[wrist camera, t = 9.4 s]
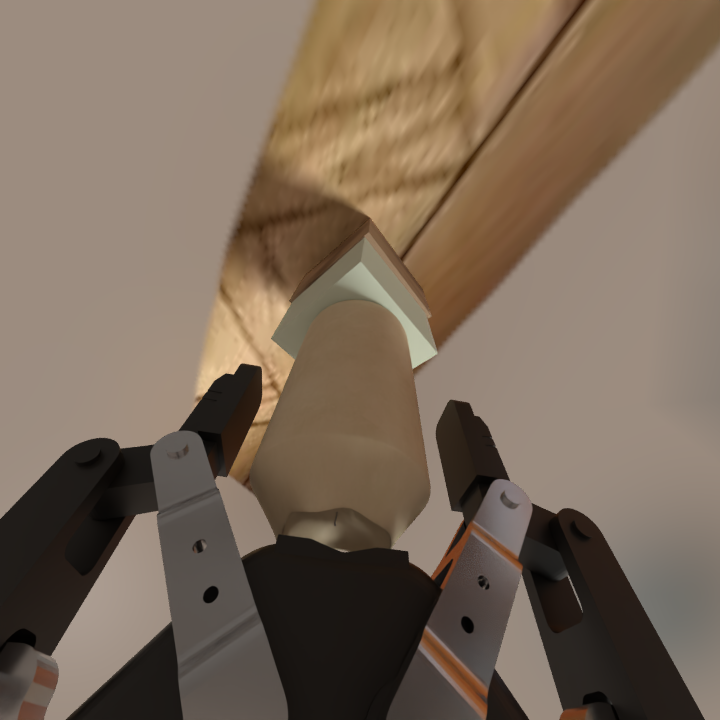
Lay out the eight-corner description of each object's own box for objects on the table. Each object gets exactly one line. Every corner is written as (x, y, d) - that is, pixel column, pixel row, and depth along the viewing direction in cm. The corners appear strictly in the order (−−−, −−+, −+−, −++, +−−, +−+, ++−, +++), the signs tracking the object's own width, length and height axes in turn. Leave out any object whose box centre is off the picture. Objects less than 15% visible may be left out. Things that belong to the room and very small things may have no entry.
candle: (321, 388, 18) (272, 584, 10) (293, 306, 15) (187, 492, 7) (412, 378, 17) (441, 584, 9) (402, 289, 14) (435, 479, 6)
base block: (370, 217, 21) (368, 232, 17) (422, 289, 24) (431, 316, 20) (304, 276, 24) (289, 300, 20) (358, 334, 27) (354, 365, 23)
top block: (364, 236, 17) (360, 261, 13) (425, 313, 20) (437, 353, 16) (292, 301, 20) (270, 338, 16) (354, 361, 23) (349, 406, 19)
